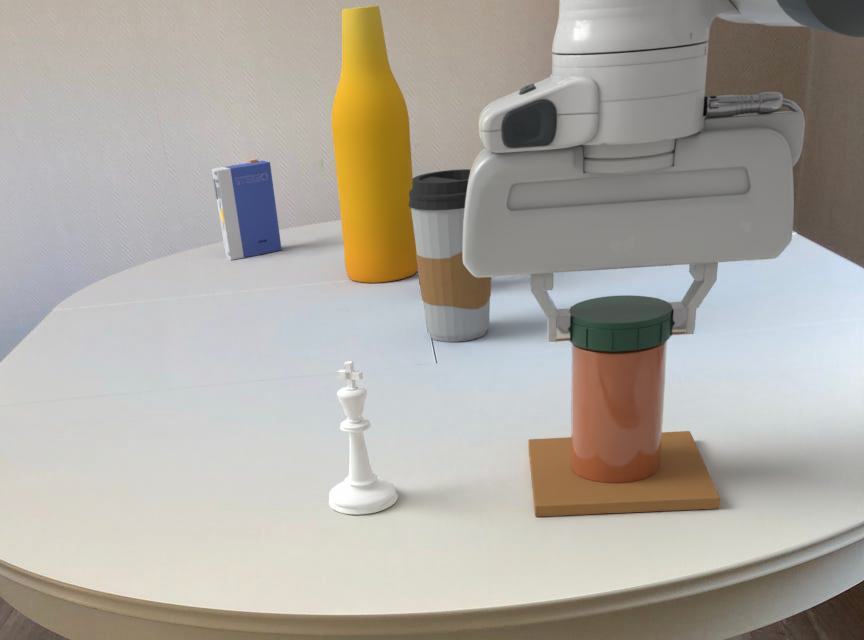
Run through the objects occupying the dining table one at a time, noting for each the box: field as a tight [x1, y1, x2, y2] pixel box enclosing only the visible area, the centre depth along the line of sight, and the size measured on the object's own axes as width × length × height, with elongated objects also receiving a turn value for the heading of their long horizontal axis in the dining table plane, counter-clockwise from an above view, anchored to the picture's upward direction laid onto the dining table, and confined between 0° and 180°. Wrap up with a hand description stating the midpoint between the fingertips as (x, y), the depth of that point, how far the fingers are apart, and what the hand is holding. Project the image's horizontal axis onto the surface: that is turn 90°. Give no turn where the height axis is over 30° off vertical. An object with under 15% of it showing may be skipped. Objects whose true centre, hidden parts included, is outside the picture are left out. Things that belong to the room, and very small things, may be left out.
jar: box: [570, 340, 668, 483], centre depth 72 cm, size 6×6×10 cm
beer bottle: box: [330, 5, 418, 284], centre depth 126 cm, size 9×9×29 cm
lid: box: [569, 294, 673, 351], centre depth 69 cm, size 7×7×2 cm
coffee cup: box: [409, 168, 492, 343], centre depth 104 cm, size 8×8×15 cm
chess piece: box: [328, 360, 399, 516], centre depth 73 cm, size 5×5×10 cm
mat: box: [527, 430, 721, 518], centre depth 75 cm, size 12×12×1 cm
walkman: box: [211, 158, 283, 261], centre depth 147 cm, size 8×3×12 cm, turn 117°
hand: (618, 336), depth 70 cm, fingers closed on lid, 6 cm apart
